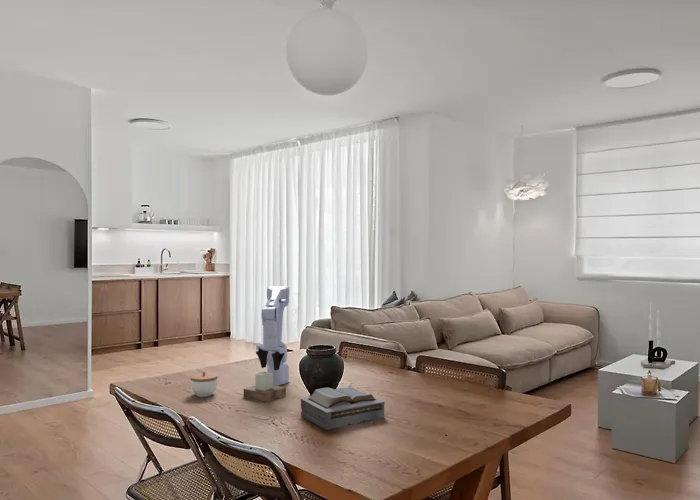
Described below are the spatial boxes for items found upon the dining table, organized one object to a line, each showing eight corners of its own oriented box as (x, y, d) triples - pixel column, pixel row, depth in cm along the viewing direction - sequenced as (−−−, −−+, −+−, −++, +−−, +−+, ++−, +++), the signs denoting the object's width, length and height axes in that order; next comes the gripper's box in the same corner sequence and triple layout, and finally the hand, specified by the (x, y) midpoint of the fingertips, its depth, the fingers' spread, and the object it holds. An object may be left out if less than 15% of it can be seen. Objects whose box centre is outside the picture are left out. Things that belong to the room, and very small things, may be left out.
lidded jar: (201, 399, 220) (201, 376, 220) (185, 395, 227) (185, 372, 227) (223, 394, 229) (222, 371, 229) (206, 390, 235) (206, 368, 235)
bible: (296, 412, 205) (296, 385, 204) (364, 404, 214) (364, 379, 214) (316, 432, 183) (316, 402, 183) (390, 422, 193) (390, 394, 193)
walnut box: (265, 392, 233) (265, 383, 233) (285, 397, 226) (285, 387, 226) (243, 398, 224) (243, 388, 224) (264, 403, 216) (264, 393, 216)
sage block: (264, 386, 228) (264, 371, 228) (273, 388, 225) (273, 373, 225) (255, 388, 224) (255, 374, 224) (264, 390, 221) (264, 375, 221)
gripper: (250, 335, 232) (251, 368, 232) (275, 339, 224) (275, 372, 224) (263, 333, 238) (263, 365, 238) (287, 336, 229) (287, 369, 229)
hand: (270, 368), depth 231 cm, fingers open, 7 cm apart
